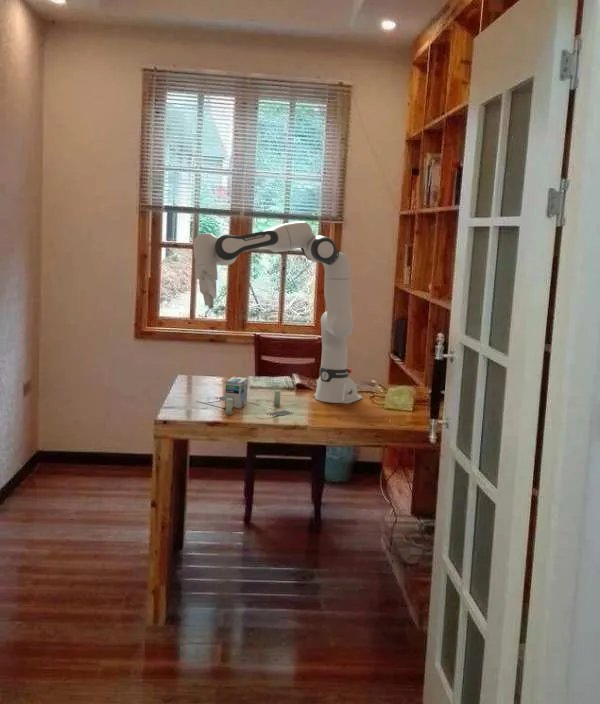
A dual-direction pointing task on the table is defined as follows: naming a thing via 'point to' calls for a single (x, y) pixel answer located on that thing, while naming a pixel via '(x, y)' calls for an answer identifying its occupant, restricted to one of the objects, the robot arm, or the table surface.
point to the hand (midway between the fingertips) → (209, 307)
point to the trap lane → (276, 402)
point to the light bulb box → (237, 391)
